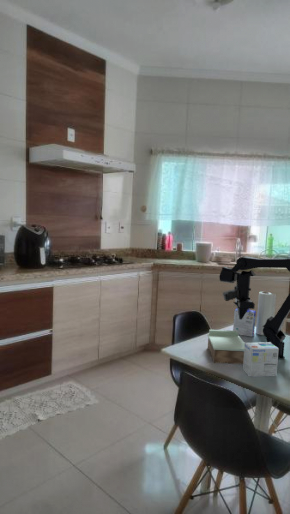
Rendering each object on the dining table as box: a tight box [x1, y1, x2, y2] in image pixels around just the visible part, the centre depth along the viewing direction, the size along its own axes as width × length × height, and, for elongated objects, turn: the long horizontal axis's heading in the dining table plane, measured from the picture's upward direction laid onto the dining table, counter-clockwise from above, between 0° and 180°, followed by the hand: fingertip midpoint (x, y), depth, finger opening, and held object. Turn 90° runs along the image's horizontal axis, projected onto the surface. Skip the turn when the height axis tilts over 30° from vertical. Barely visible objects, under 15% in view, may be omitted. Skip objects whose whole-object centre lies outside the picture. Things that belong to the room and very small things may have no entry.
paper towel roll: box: [255, 291, 277, 337], centre depth 172 cm, size 7×6×21 cm
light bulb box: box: [242, 341, 279, 378], centre depth 127 cm, size 11×7×11 cm, turn 98°
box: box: [207, 337, 244, 365], centre depth 142 cm, size 13×16×5 cm
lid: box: [207, 329, 246, 351], centre depth 142 cm, size 14×17×3 cm
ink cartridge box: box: [232, 308, 257, 338], centre depth 172 cm, size 10×6×14 cm, turn 64°
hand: (240, 319), depth 153 cm, fingers closed
